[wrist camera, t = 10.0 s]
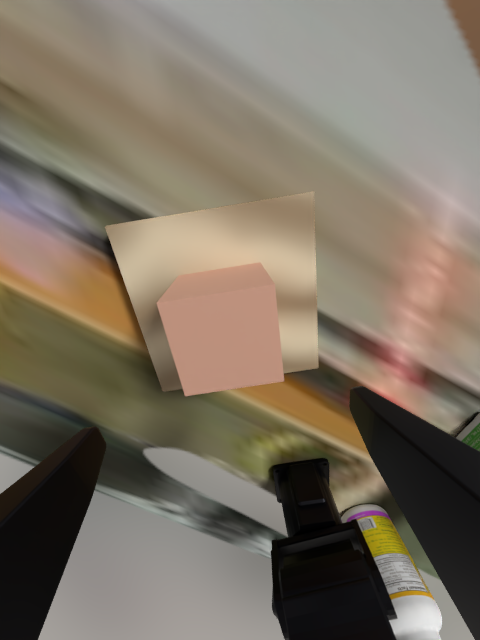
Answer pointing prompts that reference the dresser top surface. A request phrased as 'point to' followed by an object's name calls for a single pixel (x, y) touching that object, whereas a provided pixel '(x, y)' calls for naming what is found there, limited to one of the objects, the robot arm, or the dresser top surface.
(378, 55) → the dresser top surface
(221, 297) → the terracotta cube
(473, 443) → the skincare box
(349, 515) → the supplement bottle
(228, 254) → the oak base
